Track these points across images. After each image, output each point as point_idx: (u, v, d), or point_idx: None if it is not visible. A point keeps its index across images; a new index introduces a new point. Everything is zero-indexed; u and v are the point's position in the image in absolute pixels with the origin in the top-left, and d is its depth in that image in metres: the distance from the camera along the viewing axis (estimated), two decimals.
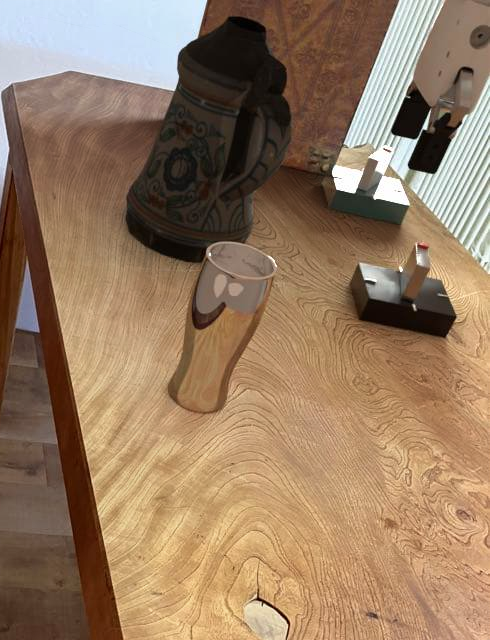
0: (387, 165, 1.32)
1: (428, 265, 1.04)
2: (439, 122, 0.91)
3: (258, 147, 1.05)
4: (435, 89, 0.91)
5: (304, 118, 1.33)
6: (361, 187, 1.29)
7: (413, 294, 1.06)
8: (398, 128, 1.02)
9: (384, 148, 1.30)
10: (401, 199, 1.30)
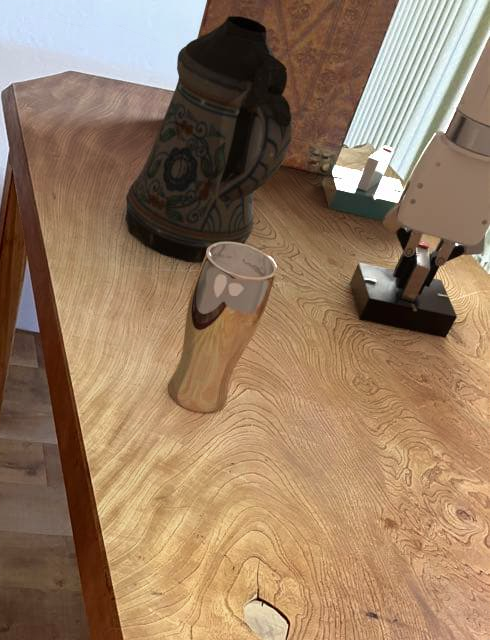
0: (387, 165, 1.32)
1: (428, 265, 1.04)
2: (449, 254, 1.05)
3: (258, 147, 1.05)
4: (481, 234, 1.01)
5: (304, 118, 1.33)
6: (361, 187, 1.29)
7: (413, 294, 1.06)
8: (404, 282, 1.08)
9: (384, 148, 1.30)
10: None
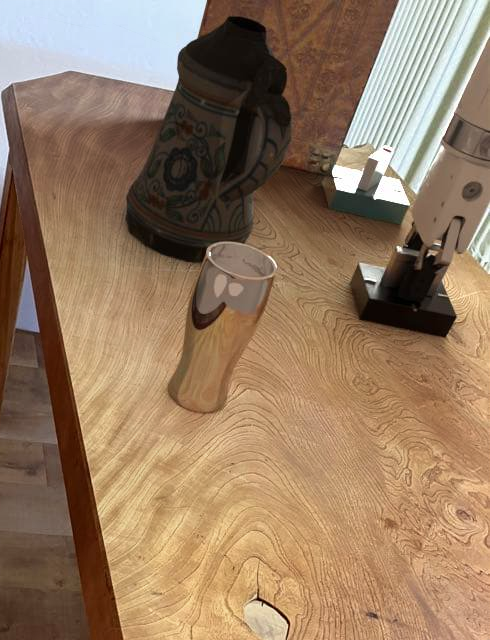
0: (387, 165, 1.32)
1: (403, 252, 1.06)
2: (425, 262, 1.03)
3: (258, 147, 1.05)
4: (430, 233, 1.00)
5: (304, 118, 1.33)
6: (361, 187, 1.29)
7: (385, 277, 1.08)
8: None
9: (384, 148, 1.30)
10: (401, 199, 1.30)
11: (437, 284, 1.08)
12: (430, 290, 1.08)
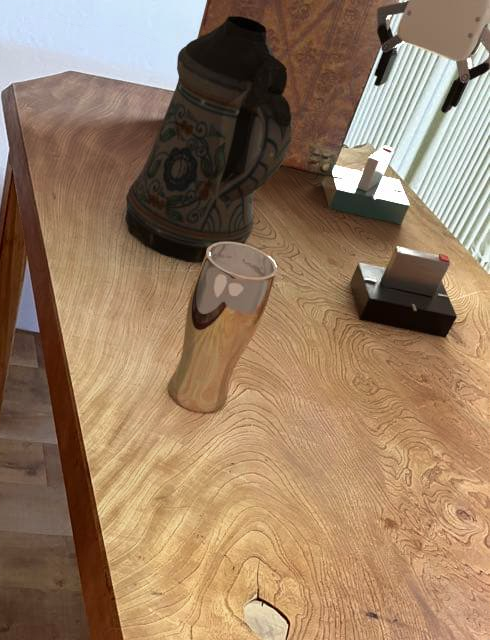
0: (387, 165, 1.32)
1: (403, 252, 1.06)
2: (474, 72, 1.14)
3: (258, 147, 1.05)
4: (467, 48, 1.12)
5: (304, 118, 1.33)
6: (361, 187, 1.29)
7: (385, 277, 1.08)
8: (382, 80, 1.20)
9: (384, 148, 1.30)
10: (401, 199, 1.30)
11: (437, 284, 1.08)
12: (430, 290, 1.08)
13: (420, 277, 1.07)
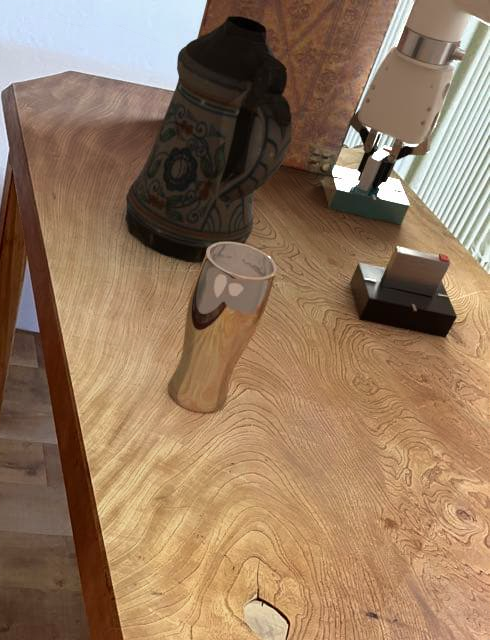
0: None
1: (403, 252, 1.06)
2: (399, 153, 1.26)
3: (258, 147, 1.05)
4: (420, 133, 1.22)
5: (304, 118, 1.33)
6: (361, 187, 1.29)
7: (385, 277, 1.08)
8: None
9: (384, 148, 1.30)
10: (401, 199, 1.30)
11: (437, 284, 1.08)
12: (430, 290, 1.08)
13: (420, 277, 1.07)
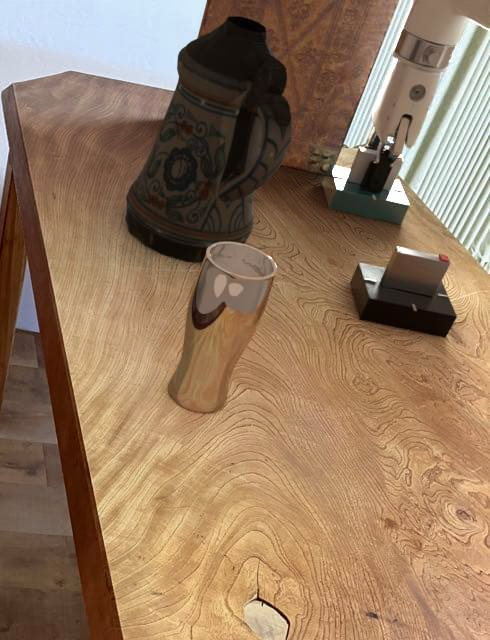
0: (396, 174, 1.30)
1: (403, 252, 1.06)
2: (382, 156, 1.25)
3: (258, 147, 1.05)
4: (385, 129, 1.22)
5: (304, 118, 1.33)
6: (348, 177, 1.31)
7: (385, 277, 1.08)
8: None
9: None
10: (401, 199, 1.30)
11: (437, 284, 1.08)
12: (430, 290, 1.08)
13: (420, 277, 1.07)
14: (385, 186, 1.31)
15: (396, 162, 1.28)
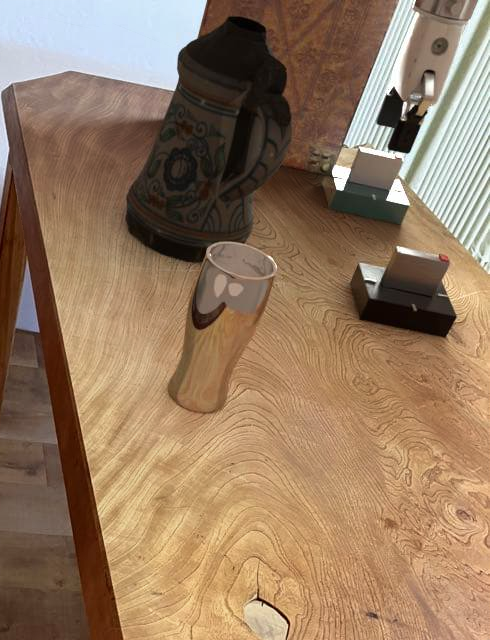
0: (396, 174, 1.30)
1: (403, 252, 1.06)
2: (410, 112, 1.18)
3: (258, 147, 1.05)
4: (406, 87, 1.18)
5: (304, 118, 1.33)
6: (348, 177, 1.31)
7: (385, 277, 1.08)
8: (381, 119, 1.29)
9: (395, 154, 1.29)
10: (401, 199, 1.30)
11: (437, 284, 1.08)
12: (430, 290, 1.08)
13: (420, 277, 1.07)
14: (385, 186, 1.31)
15: (396, 162, 1.28)
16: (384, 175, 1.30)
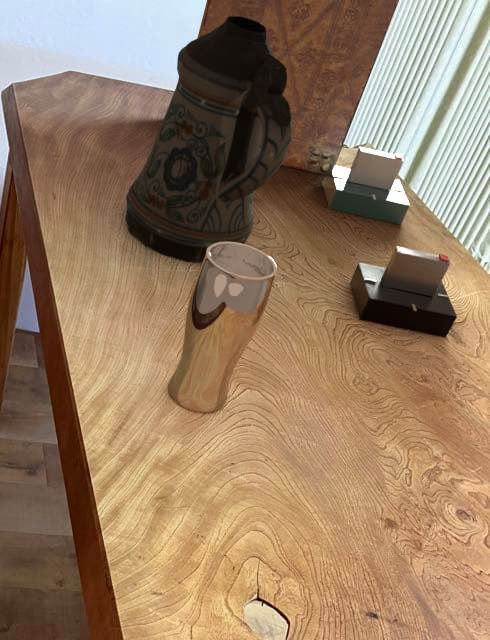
0: (396, 174, 1.30)
1: (403, 252, 1.06)
2: None
3: (258, 147, 1.05)
4: None
5: (304, 118, 1.33)
6: (348, 177, 1.31)
7: (385, 277, 1.08)
8: None
9: (395, 154, 1.29)
10: (401, 199, 1.30)
11: (437, 284, 1.08)
12: (430, 290, 1.08)
13: (420, 277, 1.07)
14: (385, 186, 1.31)
15: (396, 162, 1.28)
16: (384, 175, 1.30)
